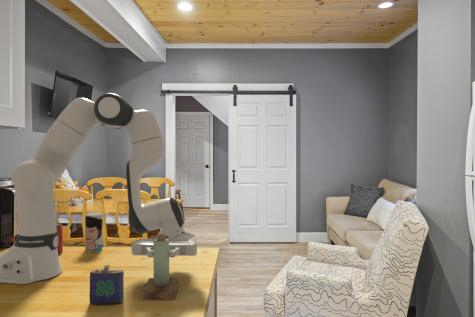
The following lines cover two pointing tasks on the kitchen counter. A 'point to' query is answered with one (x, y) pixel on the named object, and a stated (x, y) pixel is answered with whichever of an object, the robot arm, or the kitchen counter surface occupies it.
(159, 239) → the pepper mill
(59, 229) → the beer can
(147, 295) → the plinth
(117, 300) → the flask
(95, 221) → the cup
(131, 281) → the kitchen counter surface
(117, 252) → the kitchen counter surface
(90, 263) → the kitchen counter surface
